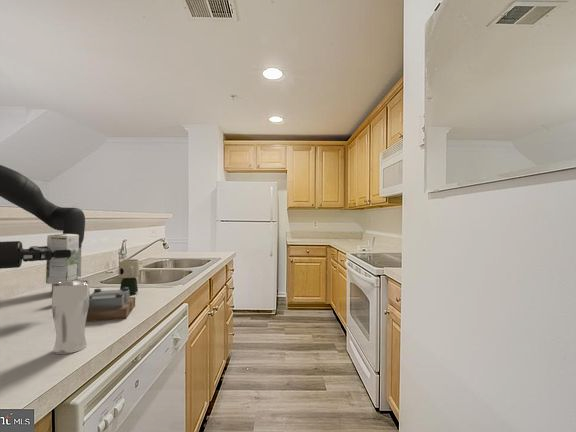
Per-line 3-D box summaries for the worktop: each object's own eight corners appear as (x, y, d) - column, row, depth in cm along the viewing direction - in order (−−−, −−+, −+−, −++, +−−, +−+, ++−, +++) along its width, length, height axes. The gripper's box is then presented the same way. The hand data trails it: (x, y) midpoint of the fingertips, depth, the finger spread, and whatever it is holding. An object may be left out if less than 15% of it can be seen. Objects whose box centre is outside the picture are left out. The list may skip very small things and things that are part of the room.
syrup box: (58, 279, 93) (59, 233, 93) (78, 279, 94) (79, 233, 93) (45, 284, 87) (46, 234, 87) (66, 284, 88) (67, 235, 88)
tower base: (91, 308, 96) (91, 287, 96) (135, 305, 100) (135, 285, 100) (74, 322, 84) (75, 298, 84) (126, 318, 88) (126, 295, 88)
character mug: (116, 292, 118) (117, 259, 118) (136, 289, 122) (137, 258, 122) (120, 298, 109) (120, 263, 109) (141, 295, 113) (142, 261, 113)
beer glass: (47, 358, 63) (48, 287, 63) (55, 345, 69) (56, 281, 69) (86, 351, 66) (87, 284, 66) (90, 340, 72) (91, 278, 72)
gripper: (-9, 244, 76) (70, 241, 86) (4, 239, 88) (72, 237, 97) (-9, 273, 76) (70, 267, 86) (3, 264, 88) (72, 260, 97)
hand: (71, 251), depth 92 cm, fingers closed on syrup box, 7 cm apart
